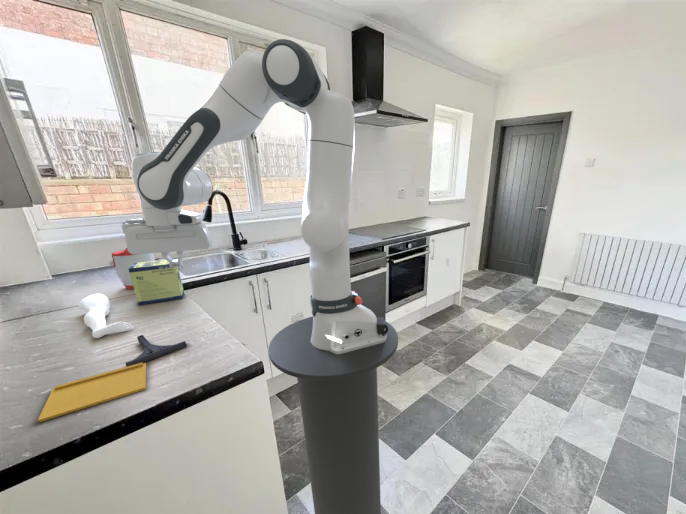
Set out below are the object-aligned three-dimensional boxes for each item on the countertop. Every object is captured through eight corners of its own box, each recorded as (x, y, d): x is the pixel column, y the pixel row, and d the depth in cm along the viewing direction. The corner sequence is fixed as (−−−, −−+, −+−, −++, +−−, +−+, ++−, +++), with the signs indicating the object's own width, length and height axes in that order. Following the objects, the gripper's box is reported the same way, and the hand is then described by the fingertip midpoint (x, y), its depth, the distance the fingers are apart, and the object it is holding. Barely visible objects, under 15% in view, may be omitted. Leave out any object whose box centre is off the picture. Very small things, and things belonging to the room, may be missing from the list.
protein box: (183, 298, 131) (174, 263, 126) (138, 305, 124) (126, 268, 119) (184, 291, 140) (176, 257, 134) (142, 297, 133) (132, 262, 127)
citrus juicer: (116, 286, 148) (102, 245, 141) (159, 279, 158) (149, 240, 151) (116, 295, 136) (102, 250, 130) (163, 286, 147) (152, 244, 140)
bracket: (167, 333, 101) (165, 325, 100) (187, 346, 92) (185, 338, 91) (111, 352, 90) (108, 344, 89) (128, 369, 81) (125, 360, 80)
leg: (108, 288, 123) (72, 295, 116) (129, 316, 102) (87, 327, 95) (113, 303, 126) (78, 311, 118) (135, 334, 105) (94, 346, 97)
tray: (146, 364, 83) (145, 361, 83) (145, 389, 73) (144, 385, 73) (53, 390, 74) (52, 386, 73) (38, 422, 64) (36, 418, 63)
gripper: (113, 221, 78) (129, 273, 83) (202, 217, 84) (212, 266, 88) (125, 218, 84) (140, 267, 89) (208, 214, 89) (217, 261, 94)
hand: (176, 266), depth 89 cm, fingers closed
